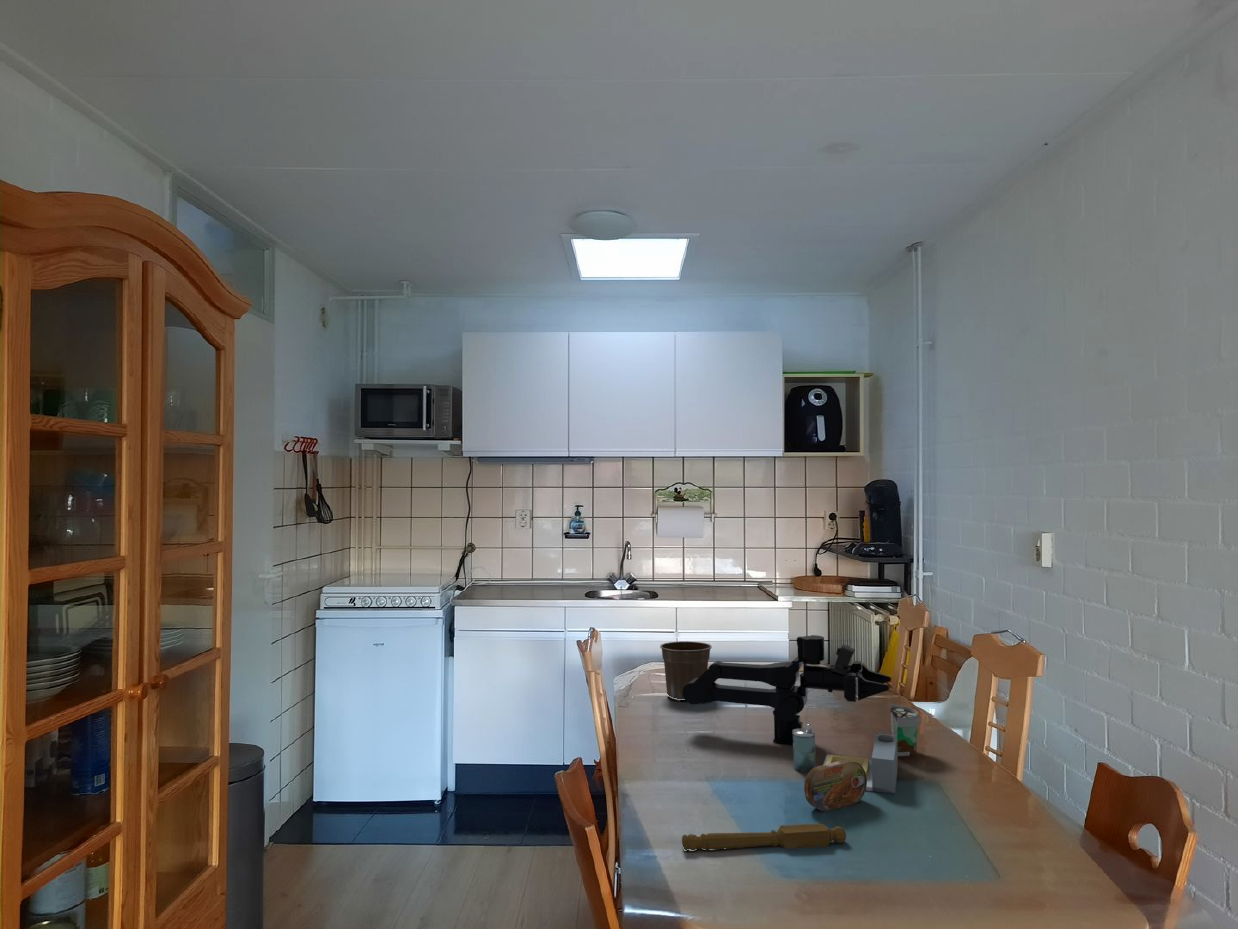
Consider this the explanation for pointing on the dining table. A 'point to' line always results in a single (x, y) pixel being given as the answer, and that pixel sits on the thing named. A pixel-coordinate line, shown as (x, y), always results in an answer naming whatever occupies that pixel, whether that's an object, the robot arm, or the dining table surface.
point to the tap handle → (769, 838)
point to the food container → (904, 730)
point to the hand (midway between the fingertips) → (890, 683)
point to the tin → (835, 785)
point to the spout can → (804, 749)
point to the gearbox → (877, 764)
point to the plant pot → (683, 664)
